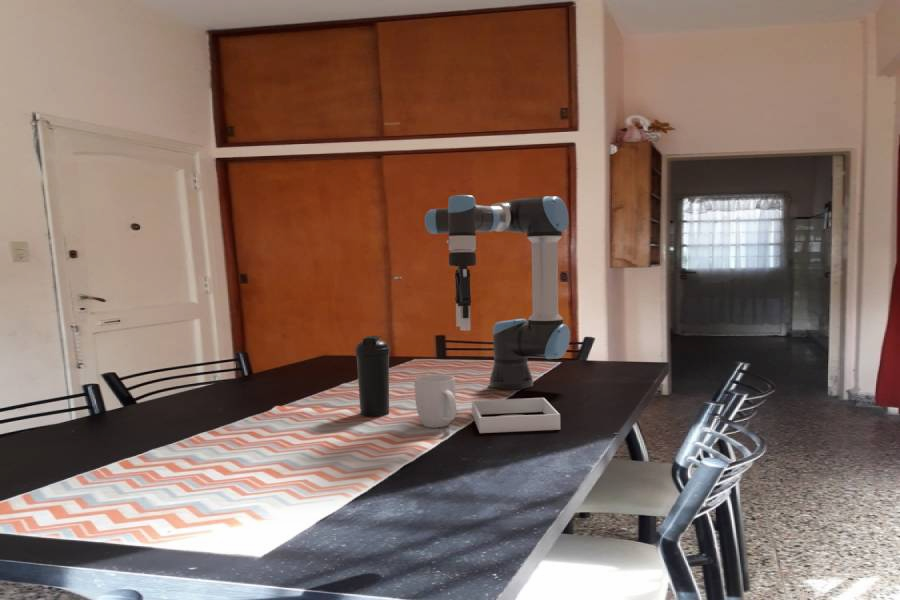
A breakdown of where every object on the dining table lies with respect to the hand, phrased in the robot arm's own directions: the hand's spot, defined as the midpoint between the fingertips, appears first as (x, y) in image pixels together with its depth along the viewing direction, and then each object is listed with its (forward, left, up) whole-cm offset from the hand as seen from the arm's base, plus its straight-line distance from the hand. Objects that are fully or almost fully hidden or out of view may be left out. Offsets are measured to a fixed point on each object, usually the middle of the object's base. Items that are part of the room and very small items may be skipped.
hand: (463, 328), depth 191 cm
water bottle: (-13, -26, -26) cm, 39 cm away
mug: (+5, -8, -26) cm, 28 cm away
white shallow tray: (+4, +13, -26) cm, 29 cm away
